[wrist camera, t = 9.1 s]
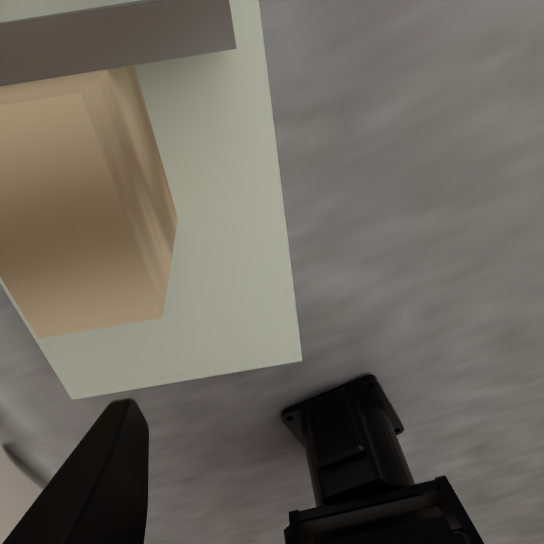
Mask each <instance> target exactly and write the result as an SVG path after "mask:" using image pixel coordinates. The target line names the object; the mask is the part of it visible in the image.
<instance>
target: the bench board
mask: <svg viewBox="0 0 544 544" xmlns="http://www.w3.org/2000/svg"><path fill="white" fill-rule="evenodd" d="M134 1H141V0H0V23H1V22H7V21H13V20H20V19H26V18H32V17H39V16H45V15H51V14H58V13H64V12H71V11H77V10H83V9H90V8H96V7H102V6H109V5H115V4H121V3H128V2H134ZM229 3H230V9H231V16H232V22H233V28H234V35H235V41H236V47H237V49H232V50H226V51H220V52H213V53H207V54H201V55H195V56H188V57H182V58H176V59H169V60H163V61H157V62H151V63H144V64H138V65H134V67H135V70H136V74H137V77H138V80H139V84H140V87H141V91H142V94H143V98H144V101H145V105H146V108H147V112H148V115H149V119H150V122H151V126H152V129H153V133H154V136H155V140H156V143H157V147H158V150H159V154H160V157H161V161H162V164H163V168H164V171H165V175H166V178H167V181H168V185H169V188H170V192H171V195H172V199H173V202H174V206H175V209H176V213H177V216H178V221H177V227H176V234H175V240H174V247H173V254H172V260H171V267H170V273H169V280H168V287H167V293H166V300H165V306H164V313H163V318H158V319H152V320H146V321H140V322H134V323H128V324H122V325H116V326H110V327H104V328H98V329H92V330H86V331H80V332H75V333H69V334H63V335H57V336H51V337H45V338H39V339H38V338H37V336H36V334H35V333H34V331H33V329H32V328H31V326H30V325H29V323H28V321H27V320H26V318H25V316H24V315H23V313H22V311H21V310H20V308H19V307H18V305H17V303H16V302H15V300H14V298H13V297H12V295H11V294H10V292H9V290H8V289H7V287H6V285H5V284H4V282H3V281H2V279H1V277H0V284H1V285H2V287H3V289H4V290H5V292H6V294H7V295H8V297H9V298H10V300H11V302H12V303H13V305H14V307H15V308H16V310H17V311H18V313H19V315H20V316H21V318H22V319H23V321H24V323H25V324H26V326H27V328H28V329H29V331H30V332H31V334H32V336H33V337H34V339H35V341H36V342H37V344H38V345H39V347H40V349H41V350H42V352H43V353H44V355H45V357H46V358H47V360H48V362H49V363H50V365H51V366H52V368H53V370H54V371H55V373H56V375H57V376H58V378H59V379H60V381H61V383H62V384H63V386H64V387H65V389H66V391H67V392H68V394H69V396H70V397H71V399H72V400H75V399H81V398H87V397H93V396H99V395H104V394H110V393H116V392H122V391H128V390H134V389H140V388H146V387H152V386H157V385H163V384H169V383H175V382H181V381H187V380H193V379H199V378H205V377H210V376H216V375H222V374H228V373H234V372H240V371H246V370H252V369H258V368H263V367H269V366H275V365H281V364H287V363H293V362H299V361H302V353H301V345H300V337H299V329H298V320H297V312H296V304H295V296H294V287H293V279H292V271H291V263H290V254H289V246H288V238H287V230H286V221H285V213H284V205H283V197H282V188H281V180H280V172H279V164H278V156H277V147H276V139H275V131H274V123H273V114H272V106H271V98H270V90H269V81H268V73H267V65H266V57H265V48H264V40H263V32H262V24H261V15H260V7H259V0H229Z"/></svg>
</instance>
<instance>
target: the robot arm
mask: <svg viewBox="0 0 544 544" xmlns="http://www.w3.org/2000/svg"><path fill="white" fill-rule="evenodd" d="M281 419H282V422H283V423H284V424H285V425H286V426H287V427H288V429H289V430H290V431H291V432H292V433H293V434H294V436H295V437H296V438H297V439H298V440H299V441H300V442H301V444H302V445H303V446H304V447H305V450H306V455H307V460H308V465H309V471H310V476H311V481H312V487H313V492H314V497H315V502H316V507H315V508H311V509H307V510H302V511H299V510H294V511H290V512H289V522H290V525H289V526H288V527H287V528H286V529H284V535H285V543H286V544H484V543H483V541H482V539H481V537H480V535H479V534H478V532H477V530H476V528H475V527H474V525H473V523H472V521H471V520H470V518H469V516H468V514H467V513H466V511H465V509H464V507H463V506H462V504H461V502H460V500H459V499H458V497H457V495H456V493H455V492H454V490H453V488H452V486H451V485H450V483H449V481H448V479H447V478H446V476H440V477H436V478H435V480H432V481H427V482H423V483H419V484H415V482H414V480H413V477H412V475H411V472H410V470H409V467H408V464H407V462H406V459H405V457H404V454H403V452H402V449H401V447H400V444H399V441H398V439H397V436H396V435H398V434H400V433H402V432H403V431H404V427H403V425H402V423H401V421H400V419H399V417H398V416H397V414H396V412H395V410H394V409H393V407H392V405H391V403H390V402H389V400H388V398H387V396H386V394H385V393H384V391H383V389H382V387H381V386H380V384H379V382H378V380H377V379H376V377H375V376H374V375H366V376H364V377H361V378H359V379H356V380H354V381H352V382H349V383H347V384H344V385H342V386H340V387H337V388H335V389H332V390H330V391H328V392H325V393H323V394H320V395H318V396H316V397H313V398H311V399H308V400H306V401H304V402H301V403H299V404H297V405H294V406H292V407H289V408H287V409H285V410H283V411H282V412H281ZM148 459H149V429H148V424H147V421H146V419H145V418H144V416H143V414H142V412H141V410H140V408H139V406H138V404H137V402H136V401H135V399H133V398H130V397H128V398H123V399H118V400H114V401H112V402H111V403H110V404H109V405H108V406H107V407H106V409H105V410H104V411H103V413H102V414H101V415H100V416H99V418H98V419H97V420H96V422H95V423H94V424H93V426H92V427H91V428H90V430H89V431H88V432H87V433H86V435H85V436H84V437H83V439H82V440H81V441H80V443H79V444H78V445H77V447H76V448H75V449H74V451H73V452H72V453H71V454H70V456H69V457H68V458H67V460H66V461H65V462H64V464H63V465H62V466H61V468H60V469H59V470H58V471H57V473H56V474H55V475H54V477H53V478H52V479H51V481H50V482H49V483H48V485H47V486H46V487H45V489H44V490H43V491H42V492H41V494H40V495H39V496H38V498H37V499H36V500H35V502H34V503H33V504H32V506H31V507H30V508H29V510H28V511H27V512H26V513H25V515H24V516H23V517H22V519H21V520H20V521H19V523H18V524H17V525H16V527H15V528H14V529H13V530H12V532H11V533H10V534H9V536H8V537H7V538H6V540H5V541H4V542H3V544H144V536H145V528H146V519H147V508H148Z"/></svg>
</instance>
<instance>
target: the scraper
mask: <svg viewBox="0 0 544 544" xmlns="http://www.w3.org/2000/svg"><path fill="white" fill-rule="evenodd" d="M232 49H237V47H236V41H235V35H234V28H233V22H232V16H231V9H230V3H229V0H141V1H134V2H128V3H121V4H115V5H109V6H102V7H96V8H90V9H83V10H77V11H71V12H64V13H58V14H51V15H45V16H39V17H32V18H26V19H20V20H13V21H7V22H1V23H0V277H1V279H2V281H3V282H4V284H5V285H6V287H7V289H8V290H9V292H10V294H11V295H12V297H13V298H14V300H15V302H16V303H17V305H18V307H19V308H20V310H21V311H22V313H23V315H24V316H25V318H26V320H27V321H28V323H29V325H30V326H31V328H32V329H33V331H34V333H35V334H36V336H37V338H38V339H39V338H45V337H51V336H57V335H63V334H69V333H75V332H80V331H86V330H92V329H98V328H104V327H110V326H116V325H122V324H128V323H134V322H140V321H146V320H152V319H158V318H163V313H164V306H165V300H166V293H167V287H168V280H169V273H170V267H171V260H172V254H173V247H174V240H175V234H176V227H177V221H178V216H177V213H176V209H175V206H174V202H173V199H172V195H171V192H170V188H169V185H168V181H167V178H166V175H165V171H164V168H163V164H162V161H161V157H160V154H159V150H158V147H157V143H156V140H155V136H154V133H153V129H152V126H151V122H150V119H149V115H148V112H147V108H146V105H145V101H144V98H143V94H142V91H141V87H140V84H139V80H138V77H137V74H136V70H135V67H134V65H138V64H144V63H151V62H157V61H163V60H169V59H176V58H182V57H188V56H195V55H201V54H207V53H213V52H220V51H226V50H232Z"/></svg>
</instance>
